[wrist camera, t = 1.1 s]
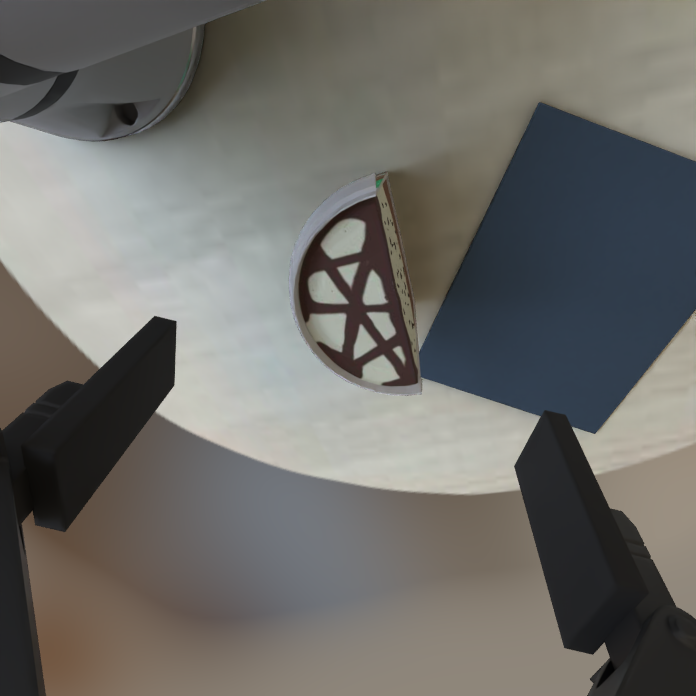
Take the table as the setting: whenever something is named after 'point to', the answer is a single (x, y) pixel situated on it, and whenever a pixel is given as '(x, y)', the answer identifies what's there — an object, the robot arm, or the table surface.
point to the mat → (571, 273)
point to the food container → (357, 290)
